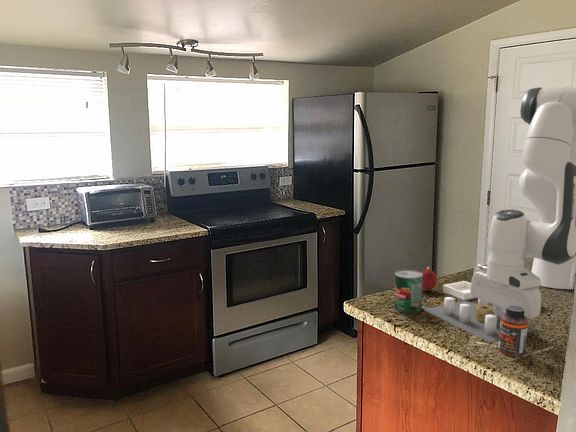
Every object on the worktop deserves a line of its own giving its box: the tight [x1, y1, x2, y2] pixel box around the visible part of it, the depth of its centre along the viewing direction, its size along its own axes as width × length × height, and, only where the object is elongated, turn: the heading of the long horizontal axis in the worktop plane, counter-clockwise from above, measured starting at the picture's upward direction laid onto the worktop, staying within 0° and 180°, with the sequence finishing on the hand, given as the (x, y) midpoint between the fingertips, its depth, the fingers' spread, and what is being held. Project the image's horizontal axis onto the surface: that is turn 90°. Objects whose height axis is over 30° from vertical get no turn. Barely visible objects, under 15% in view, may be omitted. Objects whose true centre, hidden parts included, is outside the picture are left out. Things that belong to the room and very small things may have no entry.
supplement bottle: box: [498, 305, 529, 358], centre depth 123 cm, size 6×6×11 cm
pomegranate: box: [421, 266, 438, 292], centre depth 167 cm, size 6×6×8 cm
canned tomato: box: [393, 269, 423, 314], centre depth 152 cm, size 8×8×11 cm
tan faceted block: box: [475, 304, 493, 322], centre depth 143 cm, size 5×4×4 cm
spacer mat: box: [422, 296, 538, 343], centre depth 143 cm, size 17×25×5 cm
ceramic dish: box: [442, 280, 476, 301], centre depth 164 cm, size 9×9×2 cm
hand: (501, 322), depth 138 cm, fingers closed
